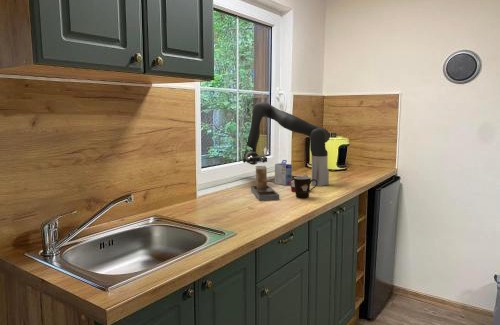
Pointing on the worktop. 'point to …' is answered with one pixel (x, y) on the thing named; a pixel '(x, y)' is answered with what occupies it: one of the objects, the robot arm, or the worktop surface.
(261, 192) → the holder tray
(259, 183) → the walnut peg
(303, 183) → the coffee mug
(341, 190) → the worktop surface
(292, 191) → the canned food
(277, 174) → the ink cartridge box
